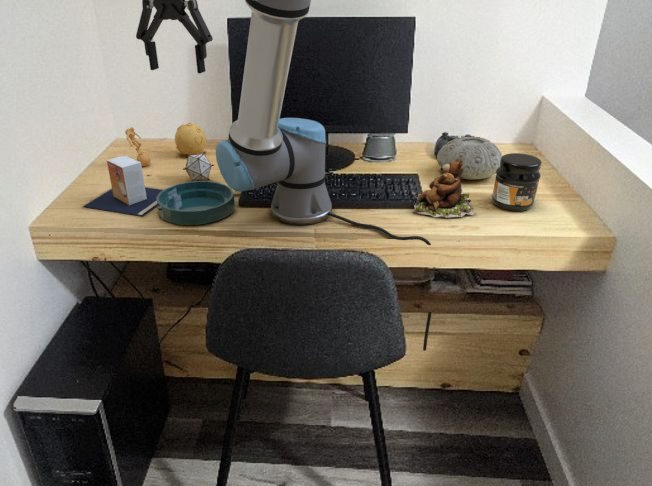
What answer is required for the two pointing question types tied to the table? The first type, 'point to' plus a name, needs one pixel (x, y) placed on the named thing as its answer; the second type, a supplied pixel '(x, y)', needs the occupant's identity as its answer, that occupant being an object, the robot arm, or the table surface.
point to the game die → (198, 167)
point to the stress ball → (190, 139)
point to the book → (116, 205)
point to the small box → (127, 179)
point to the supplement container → (516, 181)
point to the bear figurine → (445, 194)
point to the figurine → (142, 156)
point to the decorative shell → (471, 156)
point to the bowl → (195, 202)
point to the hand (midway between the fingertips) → (177, 70)
